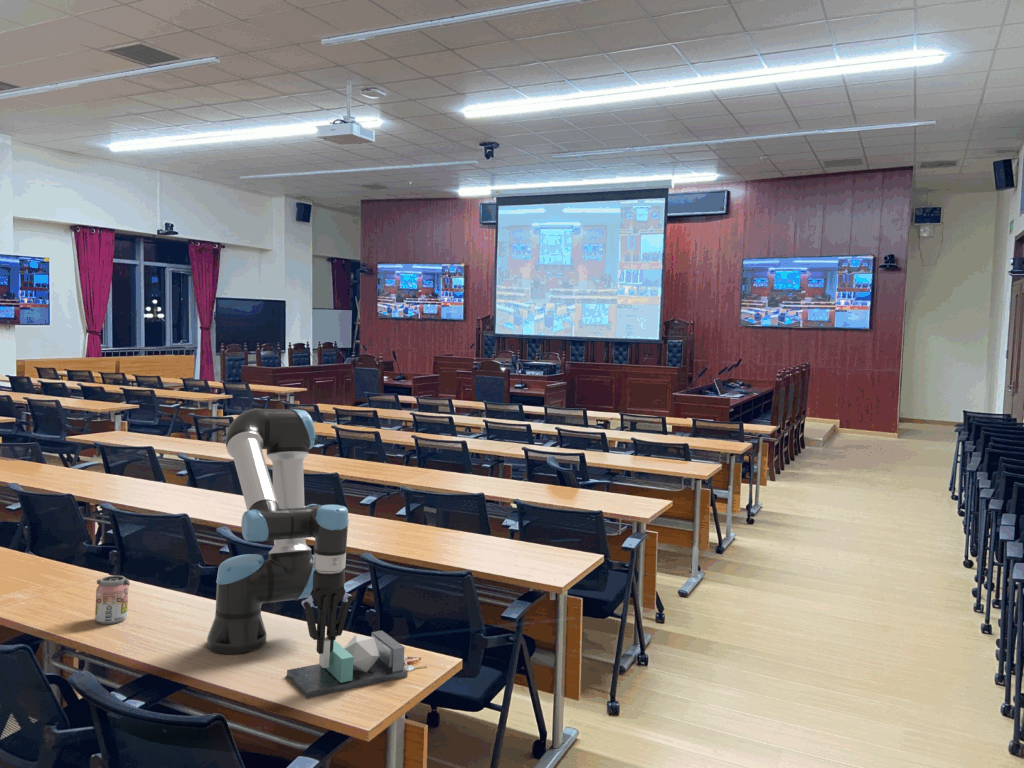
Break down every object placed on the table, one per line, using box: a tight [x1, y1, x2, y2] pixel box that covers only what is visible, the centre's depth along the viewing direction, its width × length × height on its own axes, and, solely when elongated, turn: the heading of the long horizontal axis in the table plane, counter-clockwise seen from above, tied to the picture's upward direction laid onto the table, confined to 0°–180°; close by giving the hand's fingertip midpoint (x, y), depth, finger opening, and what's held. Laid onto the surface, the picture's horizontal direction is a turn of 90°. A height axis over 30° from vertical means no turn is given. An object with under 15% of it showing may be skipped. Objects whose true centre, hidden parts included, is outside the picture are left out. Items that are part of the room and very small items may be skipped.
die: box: [343, 634, 380, 672], centre depth 186 cm, size 8×9×10 cm
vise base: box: [286, 630, 409, 699], centre depth 184 cm, size 14×26×8 cm, turn 125°
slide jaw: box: [326, 639, 354, 683], centre depth 182 cm, size 13×3×6 cm, turn 35°
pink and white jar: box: [94, 575, 131, 625], centre depth 213 cm, size 9×8×12 cm
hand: (323, 665), depth 180 cm, fingers closed
